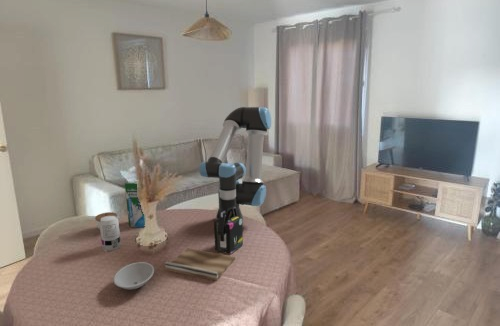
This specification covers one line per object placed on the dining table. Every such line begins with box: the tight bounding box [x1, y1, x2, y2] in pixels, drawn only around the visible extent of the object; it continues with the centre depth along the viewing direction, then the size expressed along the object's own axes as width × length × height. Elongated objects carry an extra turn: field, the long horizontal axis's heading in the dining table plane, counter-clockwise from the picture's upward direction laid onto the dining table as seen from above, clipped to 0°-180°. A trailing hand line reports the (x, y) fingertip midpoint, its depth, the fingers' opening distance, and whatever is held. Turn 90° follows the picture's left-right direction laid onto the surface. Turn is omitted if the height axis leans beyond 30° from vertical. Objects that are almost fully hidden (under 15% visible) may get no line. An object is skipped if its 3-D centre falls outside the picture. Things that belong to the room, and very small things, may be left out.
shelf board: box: [164, 247, 236, 282], centre depth 143 cm, size 18×24×3 cm
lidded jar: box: [94, 211, 118, 230], centre depth 179 cm, size 11×11×9 cm
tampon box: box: [213, 216, 244, 255], centre depth 156 cm, size 11×9×15 cm
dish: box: [113, 261, 155, 290], centre depth 128 cm, size 18×14×5 cm
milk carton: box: [124, 180, 145, 228], centre depth 184 cm, size 9×9×25 cm
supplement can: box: [99, 215, 122, 252], centre depth 157 cm, size 8×8×15 cm
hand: (229, 241), depth 157 cm, fingers closed on tampon box, 12 cm apart
